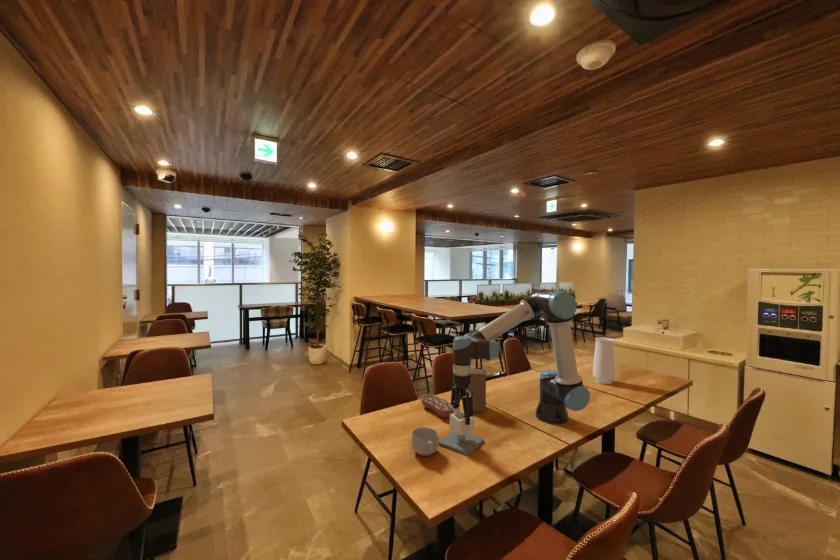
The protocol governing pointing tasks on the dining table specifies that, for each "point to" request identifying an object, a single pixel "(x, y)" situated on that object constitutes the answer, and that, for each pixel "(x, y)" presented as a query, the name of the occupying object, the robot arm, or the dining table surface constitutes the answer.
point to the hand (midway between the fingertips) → (461, 427)
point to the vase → (604, 361)
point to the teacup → (424, 441)
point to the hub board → (461, 442)
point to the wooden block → (478, 389)
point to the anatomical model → (438, 405)
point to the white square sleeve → (460, 423)
